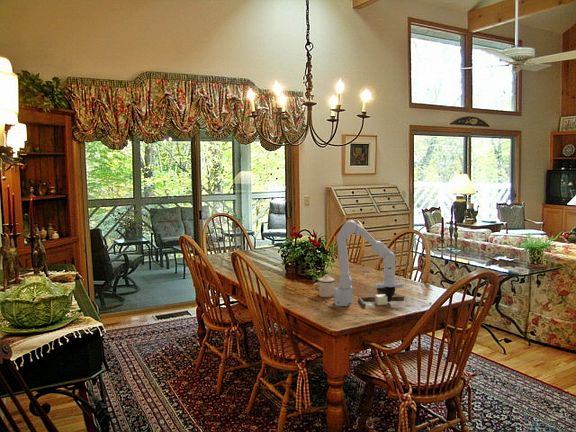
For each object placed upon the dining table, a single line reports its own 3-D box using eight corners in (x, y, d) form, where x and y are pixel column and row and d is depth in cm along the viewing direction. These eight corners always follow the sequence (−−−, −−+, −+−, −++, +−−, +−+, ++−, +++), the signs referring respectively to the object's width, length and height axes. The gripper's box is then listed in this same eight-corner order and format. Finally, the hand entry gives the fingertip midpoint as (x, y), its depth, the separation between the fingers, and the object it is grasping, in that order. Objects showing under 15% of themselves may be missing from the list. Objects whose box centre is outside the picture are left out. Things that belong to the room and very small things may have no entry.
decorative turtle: (384, 302, 255) (383, 287, 255) (372, 296, 270) (371, 282, 269) (401, 299, 258) (400, 284, 257) (387, 294, 272) (386, 280, 272)
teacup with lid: (332, 292, 275) (332, 272, 273) (336, 297, 266) (336, 276, 264) (312, 293, 273) (312, 273, 272) (314, 298, 264) (314, 277, 263)
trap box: (363, 310, 240) (363, 303, 240) (358, 303, 253) (358, 296, 253) (410, 309, 241) (411, 302, 241) (403, 302, 254) (403, 295, 254)
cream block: (377, 304, 245) (377, 297, 245) (375, 302, 250) (375, 294, 250) (387, 304, 245) (387, 296, 245) (384, 301, 250) (384, 294, 250)
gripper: (377, 277, 242) (376, 303, 243) (405, 276, 243) (405, 303, 244) (373, 274, 249) (373, 299, 250) (401, 273, 250) (401, 299, 251)
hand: (388, 301), depth 248 cm, fingers closed
